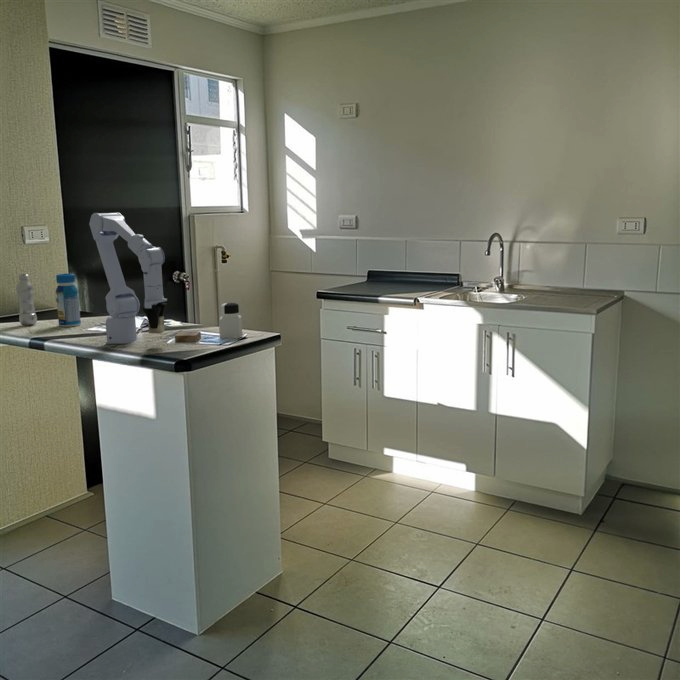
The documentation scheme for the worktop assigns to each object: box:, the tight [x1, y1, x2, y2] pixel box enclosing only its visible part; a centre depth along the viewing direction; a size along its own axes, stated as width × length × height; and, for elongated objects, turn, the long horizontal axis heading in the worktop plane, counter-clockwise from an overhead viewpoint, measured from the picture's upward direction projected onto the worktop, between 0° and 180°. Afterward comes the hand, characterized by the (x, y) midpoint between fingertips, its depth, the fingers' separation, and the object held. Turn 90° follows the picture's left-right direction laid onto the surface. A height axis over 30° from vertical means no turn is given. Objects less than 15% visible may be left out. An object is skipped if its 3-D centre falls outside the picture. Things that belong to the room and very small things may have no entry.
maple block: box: [147, 315, 166, 334], centre depth 234 cm, size 4×4×5 cm
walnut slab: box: [174, 331, 202, 343], centre depth 243 cm, size 7×7×2 cm
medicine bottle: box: [218, 302, 243, 339], centre depth 250 cm, size 7×7×12 cm
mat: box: [167, 336, 206, 345], centre depth 243 cm, size 10×12×1 cm
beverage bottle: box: [55, 273, 82, 328], centre depth 279 cm, size 8×8×20 cm
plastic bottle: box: [15, 273, 38, 327], centre depth 281 cm, size 6×7×20 cm
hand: (156, 326), depth 234 cm, fingers closed on maple block, 4 cm apart
